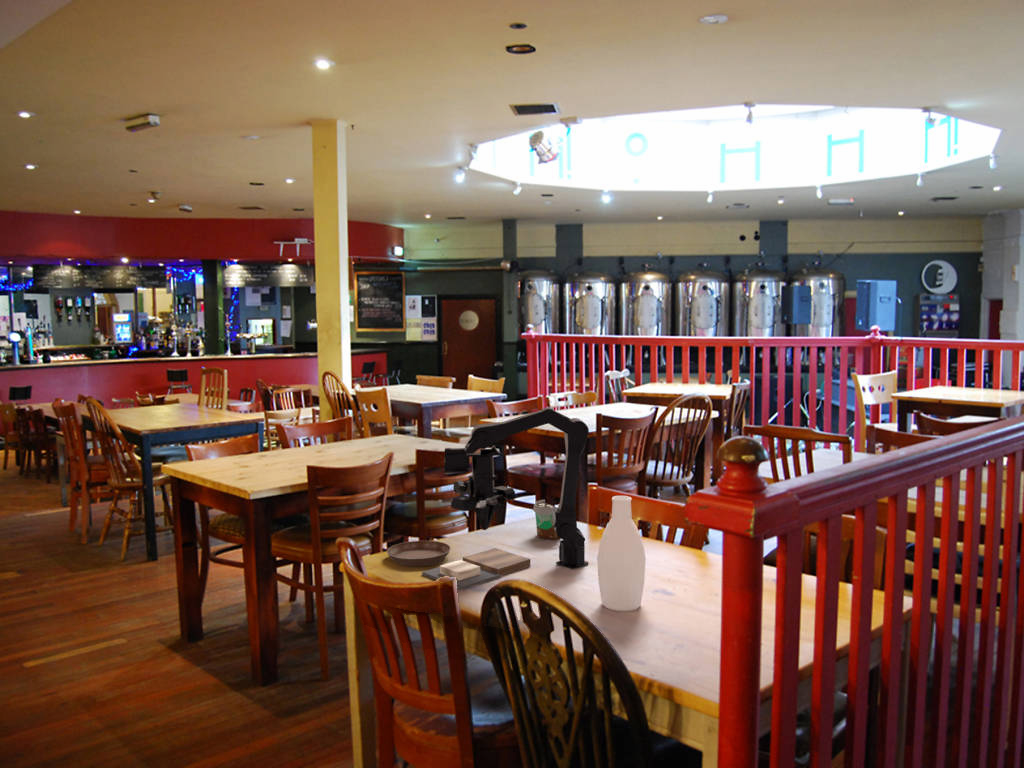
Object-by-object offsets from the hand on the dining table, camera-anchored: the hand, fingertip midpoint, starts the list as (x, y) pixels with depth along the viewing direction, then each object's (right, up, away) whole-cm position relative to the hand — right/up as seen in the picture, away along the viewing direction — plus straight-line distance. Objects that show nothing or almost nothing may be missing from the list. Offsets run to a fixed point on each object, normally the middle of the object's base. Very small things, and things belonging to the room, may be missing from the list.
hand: (484, 529), depth 212 cm
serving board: (+3, -10, +2) cm, 11 cm away
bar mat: (-6, -11, -6) cm, 14 cm away
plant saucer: (-19, -10, +9) cm, 23 cm away
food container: (+17, -8, +30) cm, 35 cm away
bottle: (+33, -13, -27) cm, 44 cm away
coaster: (-6, -10, -7) cm, 14 cm away
